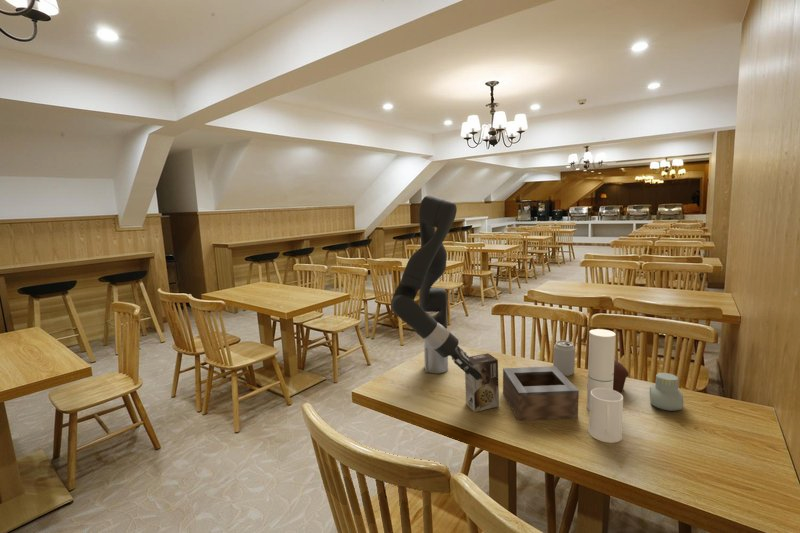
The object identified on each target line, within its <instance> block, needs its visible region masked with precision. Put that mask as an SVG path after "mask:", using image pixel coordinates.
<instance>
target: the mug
mask: <svg viewBox="0 0 800 533" xmlns="http://www.w3.org/2000/svg"><path fill="white" fill-rule="evenodd" d="M622 394H623V393H619V392H617V391H615V390H612V389H607V388H595V389H593V390H591V395H590V411H589V419H588V420H589V421H588V423H589V425H588V428H587V431H588V432H587V433H588V434H589V436H591V437H592V438H593V439H596V440H598V441H601V442H604V443H610V444H613V443H618V442H620V441H622V439H623V433H622V430H623V429H622V428H623V427H622V426H623V425H622V424H623V411H624V410H623V407H624V396H623V395H622Z"/></svg>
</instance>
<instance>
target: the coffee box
mask: <svg viewBox="0 0 800 533" xmlns="http://www.w3.org/2000/svg"><path fill="white" fill-rule="evenodd" d="M467 358H468V359H469V361H470V362H469V363H470V364H471V365H472V366H473V367H474V368H475V369H476V370H477V371H478V372H479V373H480V374H481V375H482V377H481V378H480V379H479V380H476V379H475V378H474V377H473V376H472V375H470V374H466V373H465V372H464V376H465V377H464V379H465V382H464V384H465V404H466V405H467V406H468V407H469V408H470V409H471V410H472V411H473V412H480V411H484V410H489V409H494V408H497V407H500V394H499V393H500V391H499V390H500V389H499V359H497V358H496V357H495V356H493V355H492V354H490V353H482V354H478V355H471V356H468V357H467ZM465 361H466V360H465ZM465 368H466V369H468V368H469V367H468V366H466V367H465Z"/></svg>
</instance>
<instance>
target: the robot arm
mask: <svg viewBox="0 0 800 533" xmlns="http://www.w3.org/2000/svg"><path fill="white" fill-rule="evenodd" d="M456 214H457V204H456V203H455V202H454V201H451V200H448V199H446V198H445V199H444V198H441V197H437V196H435V195H426V196H424V197H423V198H422V199H421V202H420V204H419V209H418V222H419V232H420V233H419V234H420V248H419V249H417V250H416V251H415V252H413V253H412V255H411V256H410V258H409V259H408V261H407V263H406V265H405V269H404V270H403V274H402V276H401V279H400V281H399V283H398V285H397V287H396V289H395V291H394V292H393V296H392V298H391V300H390V309H391V310H392V312H393V313H394V314H395V315H396V316H397V317H398V318H399V319H400V320H402V321H403V322H404V323H405V324H407V325H408V326H409V327H410V328H412V330H413V331H414V332H415V333H416V334H417V335H418V336H419V337H421V338H422V339H423V340H424V342H423V353H424V354H423V356H424V359H423V360H424V371H425V373H430V374H443V373H446V372H448V371H449V359H448V358H449V356H450V357H451V360H452V361H453V363H454V364H455V365H456V366H457V367H459V368H460V369H461V370H462V371H463V372H464V374H465V373H466V374H470V375H472V376H473V377H474V378H475V379H476V380H479V379H480V378H481V377H482V375H481V374H480V373H479V372H478V371H477V370H476V369H475V368H474V367H473V366H472V365H471V364H470V363H469V362H470V361H469V359H468V358H467V357H469V355H468V354H467V352H466V351H465V350H463V349H462V348H461V347H460V346H459V339H458V338H457V337H456V336H455V335H453V333H452V332H450V330H448V292H447V290H446V289H445V288H444V287H433V285H434V284H435V283H436V282H437V281H438V280H439V279H440V278H441V276H443V274H444V273H445V271H446V268H447V258H448V256H447V255H448V254H447V250H446V248H445V245H444V244H443V242H444V241H445V239H446V237H447V235H448V234H449V231H450V230H451V227H452V226H453V224H454V221H455V218H456V216H457V215H456ZM432 287H433V288H432ZM418 291H419V294H418ZM417 295H419V298H418V303H419V304H418V303H417V302H416V300H415V298H416V296H417ZM430 312H431V313H433V312H437V313H436V314H435V315H434V316H431V315H430V314H429V313H430ZM465 360H466V361H465ZM466 366H468V367H469V368H468V369H466V368H465V367H466Z"/></svg>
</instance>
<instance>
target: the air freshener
mask: <svg viewBox="0 0 800 533" xmlns="http://www.w3.org/2000/svg"><path fill="white" fill-rule="evenodd" d="M679 380H680V379H679V378H678V376H677V375H675V374H672V373H668V372H659V373H657V374H656V375H655V384H653V385H651V386H650V387H649V402H650V404H651V405H652V406H654V407H656V408H658V409H660V410H663V411H671V412H672V411H673V412H674V411H680V410H682V409H684V404H685V403H684V395H683V392H682V391H681V390H680V389H679Z"/></svg>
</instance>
